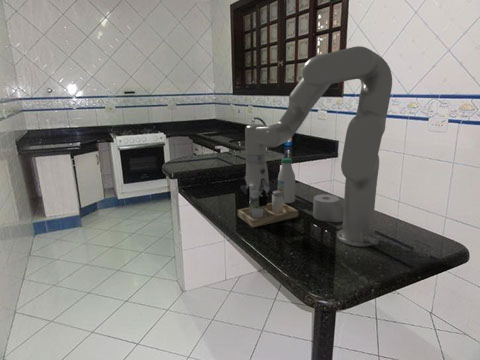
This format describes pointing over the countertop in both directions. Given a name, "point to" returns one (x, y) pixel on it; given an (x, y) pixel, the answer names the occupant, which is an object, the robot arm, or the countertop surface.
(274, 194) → the shaker
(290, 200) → the milk bottle
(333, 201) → the toilet tissue
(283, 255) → the countertop surface
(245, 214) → the caddy
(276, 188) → the dark slate chunk
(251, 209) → the syrup box
